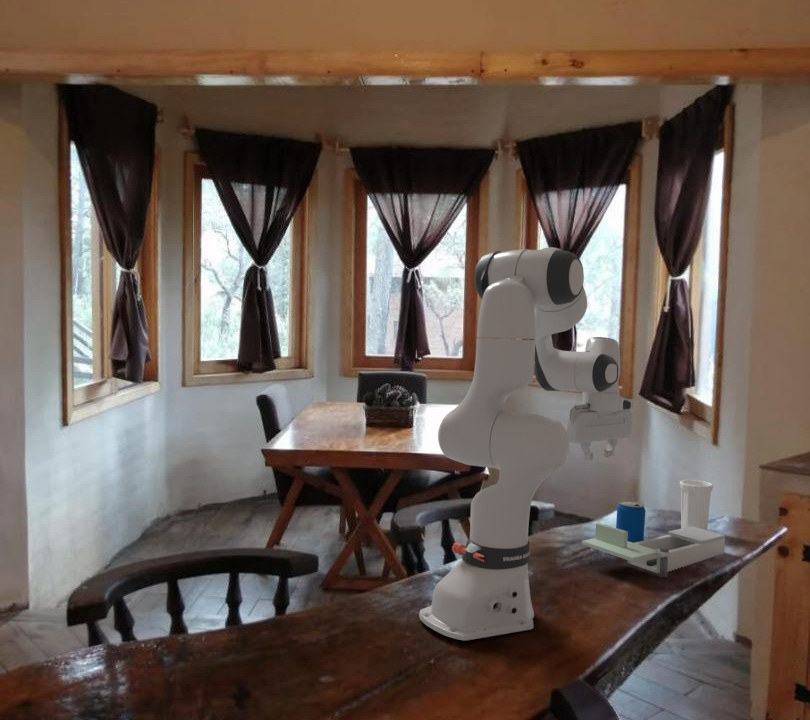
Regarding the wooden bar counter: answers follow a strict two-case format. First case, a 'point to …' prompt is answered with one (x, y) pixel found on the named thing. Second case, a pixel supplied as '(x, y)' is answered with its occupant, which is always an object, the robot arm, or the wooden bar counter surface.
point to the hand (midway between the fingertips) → (598, 458)
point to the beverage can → (631, 519)
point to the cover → (621, 544)
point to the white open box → (682, 549)
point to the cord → (651, 562)
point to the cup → (695, 503)
